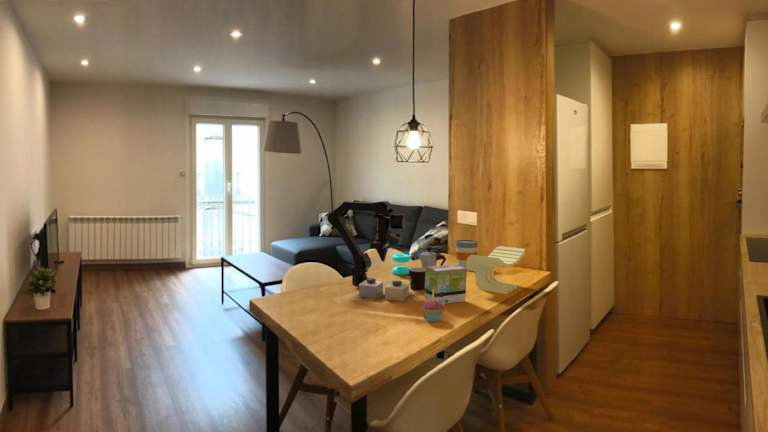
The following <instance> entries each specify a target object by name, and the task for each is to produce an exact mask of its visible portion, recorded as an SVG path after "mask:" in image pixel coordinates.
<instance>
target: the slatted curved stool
mask: <svg viewBox="0 0 768 432" xmlns="http://www.w3.org/2000/svg"><path fill="white" fill-rule="evenodd" d="M525 255H526V248H521V247H513V246H504V245H503V246H502V245H499V246H496V247H495V248H494V249H493V250H492V251H491V252H490V253H489V254H488V255H487V256H486V255H479V254H478V255H470V256H469V257H468V258H467V260H466V269H467V271H469V272H474V277H475V278H474V280H475V281H474V282H475V285H476V288H478V289H479V290H480V291H487V292H492V293H496V294H497V293H498V294H503V295H506V294H509V293H510V292H513V291H514V290H517V289H518V287H517V284H513V283H508V282H505V281H501V280H499V279H497V278H496V276H495V275H494V272H495V269H496V268H506V269H507V268H510V267H512V266H515V265H517V264H519V262H520V261H521V259H523V258H524V256H525Z"/></svg>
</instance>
